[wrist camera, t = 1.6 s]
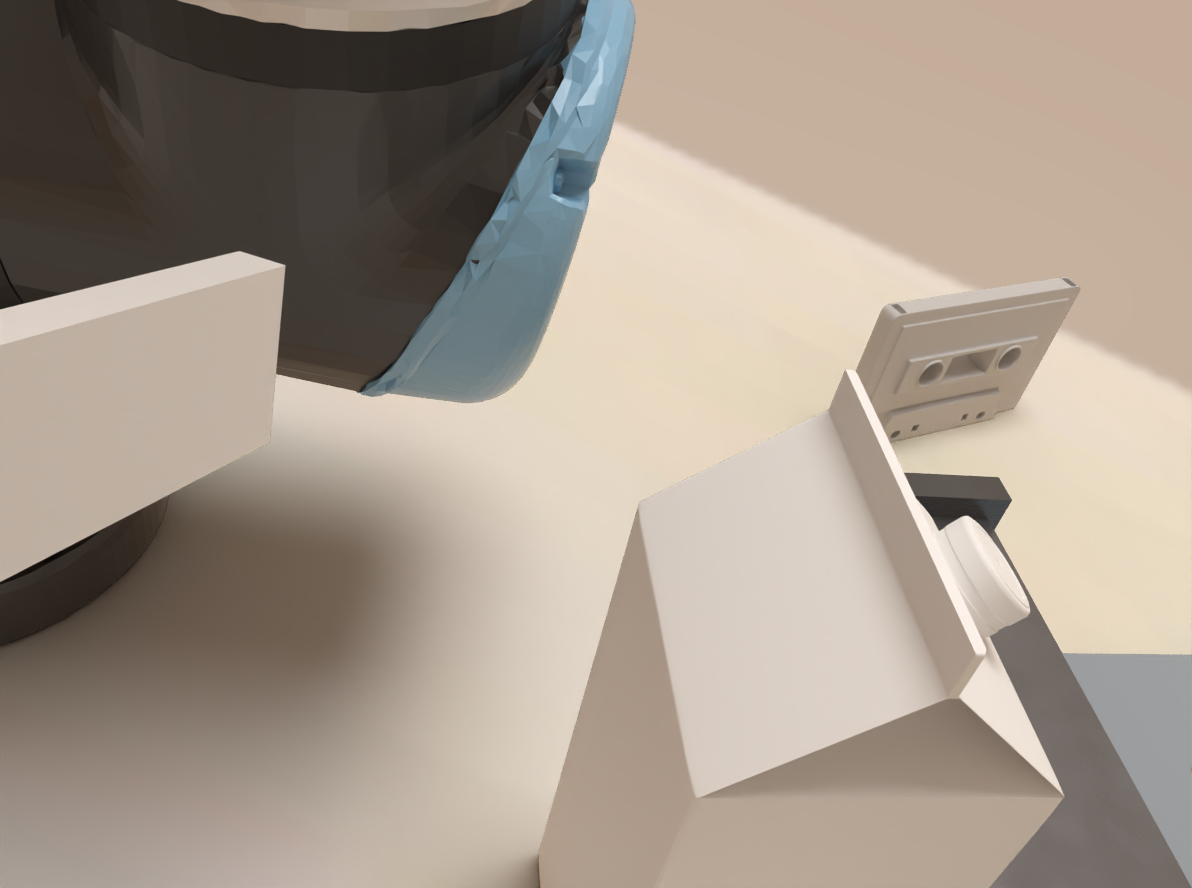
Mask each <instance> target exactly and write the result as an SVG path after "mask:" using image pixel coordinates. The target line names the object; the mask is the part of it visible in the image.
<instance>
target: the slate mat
mask: <svg viewBox="0 0 1192 888" xmlns="http://www.w3.org/2000/svg"><path fill="white" fill-rule="evenodd" d="M1062 654H1063V656H1064V658H1065V659H1066V661H1067V663H1068V665H1069V667H1070V668H1071V670H1072V672H1073V674H1074V676H1075V677H1076V679H1077V681H1078V683H1079V685H1080V686H1081V688H1082V690H1083V692H1084V694H1085V695H1086V697H1087V699H1088V701H1089V703H1090V705H1091V706H1092V708H1093V710H1094V712H1095V714H1096V715H1097V717H1098V719H1099V721H1100V723H1101V724H1102V726H1103V728H1104V730H1105V732H1106V733H1107V735H1108V737H1109V739H1110V741H1111V743H1112V744H1113V746H1114V748H1115V750H1116V752H1117V753H1118V755H1119V757H1120V759H1121V761H1122V762H1123V764H1124V766H1125V768H1126V770H1127V771H1128V773H1129V775H1130V777H1131V779H1132V781H1133V782H1134V784H1135V786H1136V788H1137V790H1138V791H1139V793H1140V795H1141V797H1142V799H1143V800H1144V802H1145V804H1146V806H1147V808H1148V809H1149V811H1150V813H1151V815H1152V817H1153V819H1154V820H1155V822H1156V824H1157V826H1158V828H1159V829H1160V831H1161V833H1162V835H1163V837H1164V838H1165V840H1166V842H1167V844H1168V846H1169V847H1170V849H1171V851H1172V853H1173V855H1174V857H1175V858H1176V860H1177V862H1178V864H1179V866H1180V867H1181V869H1182V871H1183V873H1184V875H1185V876H1186V878H1187V880H1188V882H1189V884H1190V885H1191V887H1192V775H1191V771H1190V769H1191V767H1192V655H1160V654H1068V653H1062Z"/></svg>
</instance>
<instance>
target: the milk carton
mask: <svg viewBox="0 0 1192 888" xmlns="http://www.w3.org/2000/svg"><path fill="white" fill-rule="evenodd" d="M1029 614H1030V607H1029V602H1028V599H1027V597H1026V595H1025V593H1024V591H1023V589H1022V587H1021V585H1020V583H1019V581H1018V579H1017V577H1016V576H1015V574H1014V572H1013V570H1012V569H1011V567H1010V565H1009V564H1008V562H1007V560H1006V559H1005V557H1004V556H1003V554H1002V553H1001V551H1000V550H999V548H998V547H997V546H996V544H995V543H994V542H993V540H992V539H991V538H990V536H989V535H988V534H987V533H986V531H985V530H984V529H983V528H982V527H981V526H980V525H979V524H978V523H977V522H976V521H975V520H973V519H972V518H971V517H969V516H963V517H961V518H959V519H957V520H955V521H954V522H952V523H950V524H948V525H947V526H945V528H944V529H942V530H940V531H939V530H938V529H937V527H936V525H935V523H934V521H933V519H932V517H931V516H930V514H929V513H928V512H927V511H926V509H925V508H924V507H923V506H922V505H921V504H920V502H919V501H918V500H917V499H916V498H915V496H914V493H913V491H912V489H911V487H910V485H909V483H908V481H907V479H906V476H905V474H904V472H903V470H902V468H901V466H900V464H899V461H898V459H897V457H896V455H895V453H894V451H893V449H892V447H891V444H890V442H889V440H888V438H887V436H886V434H885V432H884V429H883V427H882V425H881V423H880V421H879V419H878V417H877V415H876V412H875V410H874V408H873V406H872V404H871V402H870V400H869V398H868V395H867V393H866V391H865V389H864V387H863V385H862V383H861V380H860V378H859V376H858V374H857V372H855V371H854V370H845V372H844V374H843V376H842V379H841V381H840V384H839V386H838V388H837V391H836V393H835V396H834V398H833V401H832V403H831V405H830V408H829V409H828V410H826V411H824V412H822V413H820V414H818V415H816V416H814V417H812V418H810V419H808V420H806V421H804V422H802V423H800V424H798V425H796V426H794V427H792V428H789V429H787V430H785V431H783V432H781V433H779V434H777V435H775V436H773V437H771V438H769V439H767V440H765V441H763V442H761V443H759V444H757V445H755V446H753V447H751V448H749V449H747V450H744V451H742V452H740V453H738V454H736V455H734V456H732V457H730V458H728V459H726V460H724V461H722V462H720V463H718V464H716V465H714V466H712V467H710V468H708V469H706V470H704V471H702V472H699V473H697V474H695V475H693V476H691V477H689V478H687V479H685V480H683V481H681V482H679V483H677V484H675V485H673V486H671V487H669V488H667V489H665V490H663V491H661V492H659V493H657V494H655V495H652V496H650V497H648V498H646V499H644V500H642V501H641V502H639V504H638V508H637V512H636V515H635V519H634V522H633V526H632V529H631V533H630V536H629V540H628V543H627V547H626V550H625V554H624V557H623V561H622V564H621V568H620V571H619V574H618V578H617V581H616V585H615V588H614V592H613V595H612V599H611V602H610V606H609V609H608V613H607V616H606V620H605V623H604V627H603V630H602V634H601V637H600V641H599V644H598V648H597V651H596V655H595V658H594V662H593V665H592V669H591V672H590V675H589V679H588V682H587V686H586V689H585V693H584V696H583V700H582V703H581V707H580V710H579V714H578V717H577V721H576V724H575V728H574V731H573V735H572V738H571V742H570V745H569V749H568V752H567V756H566V759H565V763H564V766H563V769H562V773H561V776H560V780H559V783H558V787H557V790H556V794H555V797H554V801H553V804H552V808H551V811H550V815H549V818H548V822H547V825H546V829H545V832H544V836H543V839H542V843H541V846H540V850H539V875H540V888H989V887H990V886H991V885H992V884H993V883H994V881H995V880H996V879H997V878H998V877H999V875H1000V874H1001V873H1002V872H1003V871H1004V870H1005V868H1006V867H1007V866H1008V865H1009V864H1010V862H1011V861H1012V860H1013V859H1014V858H1015V857H1016V855H1017V854H1018V853H1019V852H1020V851H1021V849H1022V848H1023V847H1024V846H1025V845H1026V844H1027V842H1028V841H1029V840H1030V839H1031V838H1032V836H1033V835H1034V834H1035V833H1036V832H1037V830H1038V829H1039V828H1040V827H1041V826H1042V824H1043V823H1044V822H1045V821H1046V820H1047V818H1048V817H1049V816H1050V815H1051V813H1052V812H1053V811H1054V810H1055V808H1056V807H1057V806H1058V805H1059V803H1060V802H1061V800H1062V799H1063V798H1065V797H1064V794H1063V792H1062V789H1061V787H1060V785H1059V782H1058V780H1057V778H1056V776H1055V774H1054V771H1053V769H1052V767H1051V765H1050V763H1049V760H1048V758H1047V756H1046V754H1045V752H1044V750H1043V748H1042V746H1041V744H1040V741H1039V739H1038V737H1037V735H1036V733H1035V731H1034V729H1033V727H1032V725H1031V723H1030V721H1029V718H1028V716H1027V714H1026V712H1025V710H1024V708H1023V706H1022V704H1021V702H1020V700H1019V697H1018V695H1017V693H1016V691H1015V689H1014V687H1013V685H1012V683H1011V681H1010V678H1009V676H1008V674H1007V672H1006V670H1005V668H1004V666H1003V664H1002V662H1001V660H1000V658H999V656H998V653H997V651H996V649H995V647H994V645H993V643H992V641H991V639H990V637H989V636H991V635H993V634H995V633H997V632H998V631H999V630H1000V629H1002V628H1004V627H1006V626H1010V625H1012V624H1014V623H1016V622H1018V621H1020V620H1022V619H1024V618H1026V617H1027V616H1028V615H1029Z"/></svg>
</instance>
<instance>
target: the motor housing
mask: <svg viewBox="0 0 1192 888" xmlns="http://www.w3.org/2000/svg"><path fill="white" fill-rule="evenodd" d="M904 474H905V476H906V479H907V481H908V483H909V485H910V487H911V489H912V491H913V493H914V496H915V498H916V499H917V500H918V501H919V502H920V504H921V505H922V506H923V507H924V508H925V509H926V511H927V512H928V513H929V514H930V516H931V517H932V519H933V521H934V523H935V525H936V527H937V529H938V530H939V531H940V530H942V529H944V528H945V526H947V525H948V524H950V523H952V522H954V521H955V520H957V519H959V518H961V517H963V516H969V517H971V518H972V519H973V520H975V521H976V522H977V523H978V524H979V525H980V526H981V527H982V528H983V529H984V530H985V531H986V533H987V534H988V535H989V536H990V538H991V539H992V540H993V542H994V543H995V544H996V546H997V547H998V548H999V550H1000V551H1001V553H1002V554H1003V556H1004V557H1005V559H1006V560H1007V562H1008V564H1009V565H1010V567H1011V569H1012V570H1013V572H1014V574H1015V576H1016V577H1017V579H1018V581H1019V583H1020V585H1021V587H1022V589H1023V591H1024V593H1025V595H1026V597H1027V599H1028V602H1029V607H1030V614H1029V615H1028V616H1027V617H1026V618H1024V619H1022V620H1020V621H1018V622H1016V623H1014V624H1012V625H1010V626H1006V627H1004V628H1002V629H1000V630H999V631H998V632H997V633H995V634H993V635H991V636H989V637H990V639H991V641H992V643H993V645H994V647H995V649H996V651H997V653H998V656H999V658H1000V660H1001V662H1002V664H1003V666H1004V668H1005V670H1006V672H1007V674H1008V676H1009V678H1010V681H1011V683H1012V685H1013V687H1014V689H1015V691H1016V693H1017V695H1018V697H1019V700H1020V702H1021V704H1022V706H1023V708H1024V710H1025V712H1026V714H1027V716H1028V718H1029V721H1030V723H1031V725H1032V727H1033V729H1034V731H1035V733H1036V735H1037V737H1038V739H1039V741H1040V744H1041V746H1042V748H1043V750H1044V752H1045V754H1046V756H1047V758H1048V760H1049V763H1050V765H1051V767H1052V769H1053V771H1054V774H1055V776H1056V778H1057V780H1058V782H1059V785H1060V787H1061V789H1062V792H1063V794H1064V797H1065V798H1063V799H1062V800H1061V802H1060V803H1059V805H1058V806H1057V807H1056V808H1055V810H1054V811H1053V812H1052V813H1051V815H1050V816H1049V817H1048V818H1047V820H1046V821H1045V822H1044V823H1043V824H1042V826H1041V827H1040V828H1039V829H1038V830H1037V832H1036V833H1035V834H1034V835H1033V836H1032V838H1031V839H1030V840H1029V841H1028V842H1027V844H1026V845H1025V846H1024V847H1023V848H1022V849H1021V851H1020V852H1019V853H1018V854H1017V855H1016V857H1015V858H1014V859H1013V860H1012V861H1011V862H1010V864H1009V865H1008V866H1007V867H1006V868H1005V870H1004V871H1003V872H1002V873H1001V874H1000V875H999V877H998V878H997V879H996V880H995V881H994V883H993V884H992V885H991V886H990V887H989V888H1192V887H1191V885H1190V884H1189V882H1188V880H1187V878H1186V876H1185V875H1184V873H1183V871H1182V869H1181V867H1180V866H1179V864H1178V862H1177V860H1176V858H1175V857H1174V855H1173V853H1172V851H1171V849H1170V847H1169V846H1168V844H1167V842H1166V840H1165V838H1164V837H1163V835H1162V833H1161V831H1160V829H1159V828H1158V826H1157V824H1156V822H1155V820H1154V819H1153V817H1152V815H1151V813H1150V811H1149V809H1148V808H1147V806H1146V804H1145V802H1144V800H1143V799H1142V797H1141V795H1140V793H1139V791H1138V790H1137V788H1136V786H1135V784H1134V782H1133V781H1132V779H1131V777H1130V775H1129V773H1128V771H1127V770H1126V768H1125V766H1124V764H1123V762H1122V761H1121V759H1120V757H1119V755H1118V753H1117V752H1116V750H1115V748H1114V746H1113V744H1112V743H1111V741H1110V739H1109V737H1108V735H1107V733H1106V732H1105V730H1104V728H1103V726H1102V724H1101V723H1100V721H1099V719H1098V717H1097V715H1096V714H1095V712H1094V710H1093V708H1092V706H1091V705H1090V703H1089V701H1088V699H1087V697H1086V695H1085V694H1084V692H1083V690H1082V688H1081V686H1080V685H1079V683H1078V681H1077V679H1076V677H1075V676H1074V674H1073V672H1072V670H1071V668H1070V667H1069V665H1068V663H1067V661H1066V659H1065V658H1064V656H1063V654H1062V652H1061V650H1060V648H1059V647H1058V645H1057V643H1056V641H1055V639H1054V638H1053V636H1052V634H1051V632H1050V630H1049V629H1048V627H1047V625H1046V623H1045V621H1044V620H1043V618H1042V616H1041V614H1040V612H1039V610H1038V609H1037V607H1036V605H1035V603H1034V601H1033V600H1032V598H1031V596H1030V594H1029V592H1028V591H1027V589H1026V587H1025V585H1024V583H1023V582H1022V580H1021V578H1020V576H1019V574H1018V572H1017V571H1016V569H1015V567H1014V565H1013V563H1012V562H1011V560H1010V558H1009V556H1008V554H1007V553H1006V551H1005V549H1004V547H1003V545H1002V544H1001V542H1000V540H999V538H998V536H997V534H996V533H995V531H994V530H995V528H996V526H997V524H998V523H999V521H1000V519H1001V518H1002V516H1003V514H1004V513H1005V511H1006V509H1007V508H1008V506H1009V504H1010V503H1011V501H1012V499H1011V498H1010V496H1009V494H1008V493H1007V491H1006V489H1005V487H1004V486H1003V484H1002V482H1001V481H1000V479H999V477H981V476H961V475H941V474H921V473H904Z"/></svg>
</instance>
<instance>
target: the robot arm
mask: <svg viewBox="0 0 1192 888" xmlns="http://www.w3.org/2000/svg"><path fill="white" fill-rule="evenodd" d="M634 26H635V10H634V6H633V4H632V1H631V0H0V645H3V644H6V643H9V642H11V641H14V640H16V639H19V638H22V637H24V636H27V635H29V634H31V633H34V632H36V631H38V630H40V629H43V628H45V627H47V626H49V625H51V624H53V623H55V622H57V621H59V620H61V619H62V618H64V617H66V616H68V615H69V614H71V613H73V612H75V611H76V610H78V609H80V608H81V607H83V606H84V605H86V604H87V603H89V602H90V601H92V600H93V599H94V598H96V597H97V596H98V595H100V594H101V593H102V592H104V591H105V590H106V589H108V588H109V587H110V586H111V585H112V584H113V583H115V582H116V581H117V580H118V579H119V578H120V577H121V576H122V575H123V574H124V573H125V572H126V571H127V570H128V569H129V568H130V567H131V566H132V565H133V564H134V563H135V562H136V561H137V559H138V558H139V557H140V556H141V554H142V553H143V552H144V550H145V549H146V548H147V546H148V545H149V543H150V542H151V540H152V539H153V537H154V535H155V533H156V531H157V529H158V527H159V525H160V523H161V521H162V518H163V516H164V512H165V509H166V506H167V501H168V495H169V494H171V493H173V492H175V491H177V490H179V489H181V488H183V487H185V486H187V485H189V484H190V483H192V482H194V481H196V480H198V479H200V478H202V477H204V476H206V475H208V474H210V473H212V472H214V471H216V470H218V469H219V468H221V467H223V466H225V465H227V464H229V463H231V462H233V461H235V460H237V459H239V458H241V457H243V456H245V455H246V454H248V453H250V452H252V451H254V450H256V449H258V448H260V447H262V446H264V445H266V444H268V443H270V435H271V424H272V412H273V401H274V390H275V378H276V374H278V375H283V376H288V377H292V378H297V379H302V380H306V381H311V382H316V383H321V384H325V385H330V386H335V387H339V388H344V389H349V390H353V391H356V392H357V393H361V394H362V395H366V396H371V397H375V396H382V395H384V394H386V393H390V394H398V395H406V396H413V397H421V398H429V399H436V400H444V401H452V402H460V403H476V402H483V401H486V400H490V399H493V398H495V397H498V396H500V395H501V394H503V393H505V392H506V391H508V390H509V389H510V388H512V387H513V386H514V385H515V384H516V383H517V382H518V381H519V380H520V379H521V378H522V376H523V375H524V373H525V372H526V370H527V369H528V367H529V366H530V364H531V362H532V361H533V359H534V356H535V354H536V352H537V350H538V348H539V346H540V343H541V341H542V339H543V337H544V334H545V332H546V329H547V327H548V324H549V321H550V319H551V316H552V313H553V311H554V308H555V306H556V303H557V300H558V298H559V295H560V292H561V289H562V286H563V283H564V281H565V278H566V275H567V272H568V269H569V266H570V263H571V260H572V257H573V254H574V251H575V248H576V245H577V242H578V238H579V235H580V232H581V228H582V225H583V222H584V219H585V215H586V212H587V207H588V202H589V188H590V187H591V186H592V184H593V183H594V182H595V179H596V176H597V172H598V168H599V165H600V161H601V157H602V155H603V152H604V150H605V147H606V145H607V142H608V140H609V136H610V133H611V129H612V126H613V122H614V118H615V115H616V111H617V107H618V103H619V99H620V96H621V91H622V88H623V84H624V79H625V75H626V71H627V67H628V62H629V58H630V53H631V48H632V42H633V35H634ZM1190 771H1191V775H1192V767H1191V769H1190Z"/></svg>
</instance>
